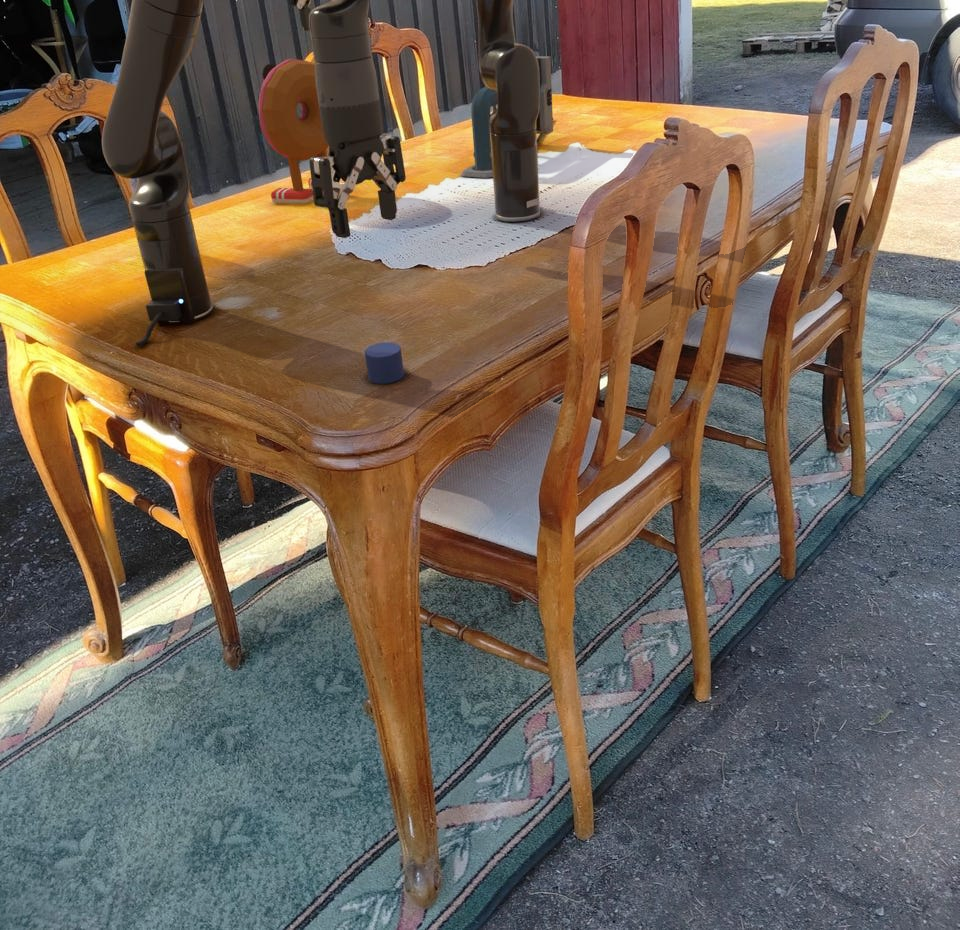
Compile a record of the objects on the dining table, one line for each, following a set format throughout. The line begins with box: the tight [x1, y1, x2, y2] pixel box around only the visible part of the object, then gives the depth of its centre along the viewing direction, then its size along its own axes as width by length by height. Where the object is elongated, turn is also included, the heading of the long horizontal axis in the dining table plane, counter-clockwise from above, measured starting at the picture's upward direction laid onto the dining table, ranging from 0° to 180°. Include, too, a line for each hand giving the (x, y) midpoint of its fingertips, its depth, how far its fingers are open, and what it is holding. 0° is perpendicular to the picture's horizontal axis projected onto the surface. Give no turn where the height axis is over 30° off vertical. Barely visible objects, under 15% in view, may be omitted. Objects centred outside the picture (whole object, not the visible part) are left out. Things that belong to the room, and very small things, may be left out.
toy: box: [257, 58, 329, 205], centre depth 218 cm, size 21×10×30 cm, turn 141°
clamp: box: [460, 55, 554, 179], centre depth 237 cm, size 35×9×21 cm, turn 151°
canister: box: [364, 341, 405, 385], centre depth 137 cm, size 5×5×4 cm
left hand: (366, 227), depth 127 cm, fingers open, 8 cm apart
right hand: (328, 29), depth 182 cm, fingers open, 8 cm apart
